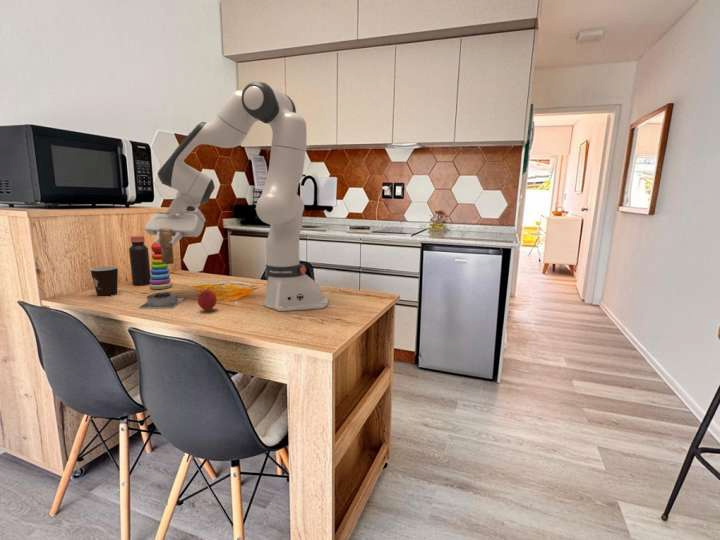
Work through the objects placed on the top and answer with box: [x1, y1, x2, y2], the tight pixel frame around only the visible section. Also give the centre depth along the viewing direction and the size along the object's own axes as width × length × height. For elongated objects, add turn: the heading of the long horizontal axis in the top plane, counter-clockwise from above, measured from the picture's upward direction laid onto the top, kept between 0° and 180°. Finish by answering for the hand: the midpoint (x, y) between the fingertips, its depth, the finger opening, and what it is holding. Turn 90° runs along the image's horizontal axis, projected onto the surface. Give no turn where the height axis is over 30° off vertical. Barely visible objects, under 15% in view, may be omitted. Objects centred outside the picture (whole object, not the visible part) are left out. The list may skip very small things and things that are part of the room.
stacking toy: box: [149, 241, 172, 290], centre depth 157 cm, size 8×8×19 cm
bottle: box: [128, 235, 151, 287], centre depth 162 cm, size 7×7×20 cm
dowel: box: [159, 228, 175, 265], centre depth 136 cm, size 4×4×12 cm
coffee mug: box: [90, 265, 119, 297], centre depth 148 cm, size 12×9×10 cm
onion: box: [197, 286, 218, 312], centre depth 129 cm, size 6×6×8 cm
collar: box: [138, 291, 186, 309], centre depth 137 cm, size 11×11×3 cm
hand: (165, 243), depth 136 cm, fingers closed on dowel, 4 cm apart
